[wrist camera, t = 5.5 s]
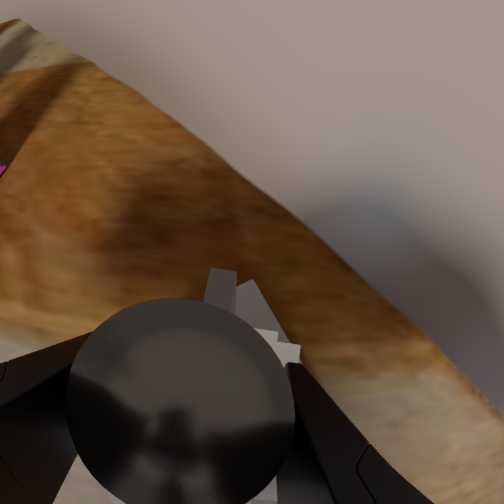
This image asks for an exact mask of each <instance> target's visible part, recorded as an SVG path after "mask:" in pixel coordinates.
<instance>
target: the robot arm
mask: <svg viewBox="0 0 504 504" xmlns="http://www.w3.org/2000/svg"><path fill="white" fill-rule="evenodd" d="M92 332H93V331H92ZM92 332H89V333H87V334H84V335H81V336H78V337H75V338H73V339H70V340H67V341H64V342H61V343H58V344H56V345H53V346H50V347H47V348H44V349H41V350H38V351H35V352H32V353H30V354H27V355H24V356H21V357H18V358H15V359H12V360H9V361H8V362H7V361H6V362H3V363H0V504H53V502H54V500H55V498H56V496H57V494H58V492H59V490H60V488H61V486H62V484H63V482H64V480H65V478H66V476H67V474H68V472H69V470H70V468H71V466H72V464H73V462H74V460H75V458H76V456H77V454H78V453H77V451H76V449H75V446H74V444H73V441H72V438H71V436H70V432H69V428H68V424H67V418H66V409H65V398H66V387H67V381H68V377H69V373H70V370H71V367H72V364H73V362H74V360H75V358H76V355H77V353H78V352H79V350H80V348H81V347H82V345H83V344H84V342H85V341H86V340H87V338H88V337H89V336H90V335H91V334H92ZM284 369H285V371H286V373H287V376H288V379H289V382H290V385H291V389H292V394H293V398H294V408H295V423H294V433H293V437H292V442H291V446H290V449H289V451H288V454H287V456H286V459H285V461H284V463H283V465H282V466H281V468H280V470H279V472H278V473H277V475H276V484H277V504H434V503H433V502H432V501H430V500H429V499H428V498H427V497H426V496H424V495H423V494H422V493H421V492H420V491H419V490H417V489H416V488H415V487H414V486H413V485H411V484H410V483H409V482H408V481H407V480H406V479H405V478H404V477H402V476H401V475H400V474H399V473H398V472H397V471H396V470H395V469H394V468H393V467H392V466H391V465H390V464H389V463H388V462H387V461H386V460H385V459H384V458H383V457H382V456H381V455H380V454H379V453H378V452H377V450H376V449H375V448H374V447H373V446H372V445H371V444H369V441H368V440H367V439H366V438H365V437H364V436H363V435H362V433H361V432H360V431H359V430H358V429H357V428H356V427H355V425H354V424H353V423H352V422H351V421H350V420H349V419H348V417H347V416H346V415H345V414H344V413H343V412H342V410H341V409H340V408H339V407H338V406H337V405H336V403H335V402H334V401H333V400H332V399H331V398H330V396H329V395H328V394H327V393H326V392H325V390H324V389H323V388H322V387H321V386H320V385H319V383H318V382H317V381H316V380H315V379H314V377H313V376H312V375H311V374H310V373H309V371H308V370H307V369H306V368H305V367H304V365H303V364H301V363H294V362H287V363H286V364H285V367H284Z"/></svg>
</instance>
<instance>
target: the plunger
mask: <svg viewBox="0 0 504 504" xmlns="http://www.w3.org/2000/svg"><path fill="white" fill-rule="evenodd" d="M65 409H66V418H67V424H68V428H69V432H70V436H71V438H72V441H73V444H74V446H75V449H76V451H77V453H78V455H79V456H80V458H81V460H82V462H83V463H84V465H85V466H86V468H87V469H88V470H89V472H90V473H91V474H92V475H93V477H94V478H95V479H96V480H97V481H98V482H99V483H100V484H101V485H102V486H103V487H104V488H105V489H106V490H108V491H109V492H110V493H111V494H112V495H114V496H115V497H117V498H118V499H120V500H121V501H123V502H124V503H126V504H246V503H247V502H248V501H250V500H251V499H253V498H254V497H256V496H257V495H258V494H259V493H260V492H261V491H262V490H263V489H265V488H266V487H267V486H268V485H269V483H270V482H271V481H272V480H273V478H274V477H275V476H276V475H277V473H278V472H279V470H280V468H281V466H282V465H283V463H284V461H285V459H286V456H287V454H288V451H289V449H290V446H291V442H292V437H293V433H294V423H295V408H294V398H293V394H292V389H291V385H290V382H289V379H288V376H287V373H286V371H285V369H284V367H283V365H282V363H281V361H280V359H279V358H278V356H277V355H276V353H275V352H274V350H273V349H272V347H271V346H270V345H269V344H268V342H267V341H266V340H265V339H264V338H263V337H262V336H261V335H260V334H259V333H258V332H257V331H256V330H255V329H254V328H253V327H251V326H250V325H249V324H248V323H246V322H245V321H243V320H242V319H241V318H239V317H238V316H236V315H234V314H232V313H230V312H228V311H226V310H225V309H222V308H220V307H217V306H214V305H212V304H209V303H205V302H201V301H197V300H191V299H183V298H164V299H155V300H150V301H146V302H142V303H138V304H135V305H133V306H130V307H128V308H125V309H123V310H122V311H120V312H118V313H116V314H114V315H113V316H111V317H110V318H108V319H107V320H106V321H104V322H103V323H102V324H101V325H100V326H99V327H98V328H96V329H95V330H94V331H93V332H92V334H91V335H90V336H89V337H88V338H87V340H86V341H85V342H84V344H83V345H82V347H81V348H80V350H79V352H78V353H77V355H76V358H75V360H74V362H73V364H72V367H71V370H70V373H69V377H68V381H67V387H66V398H65Z"/></svg>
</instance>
